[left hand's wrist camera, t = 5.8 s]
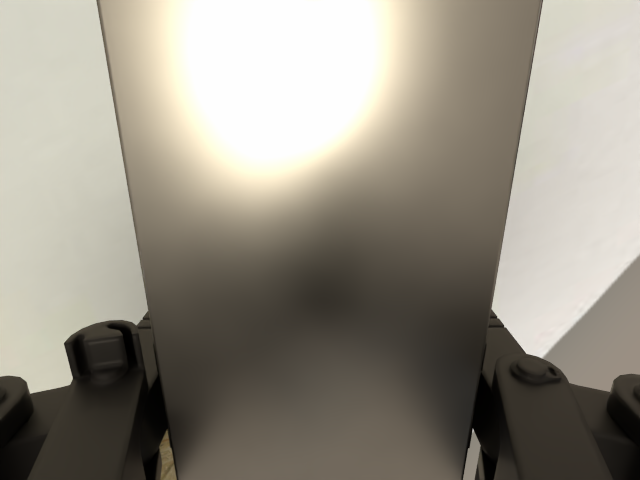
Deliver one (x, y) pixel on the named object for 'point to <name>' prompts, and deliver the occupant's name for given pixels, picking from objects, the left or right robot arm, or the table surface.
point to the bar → (319, 222)
